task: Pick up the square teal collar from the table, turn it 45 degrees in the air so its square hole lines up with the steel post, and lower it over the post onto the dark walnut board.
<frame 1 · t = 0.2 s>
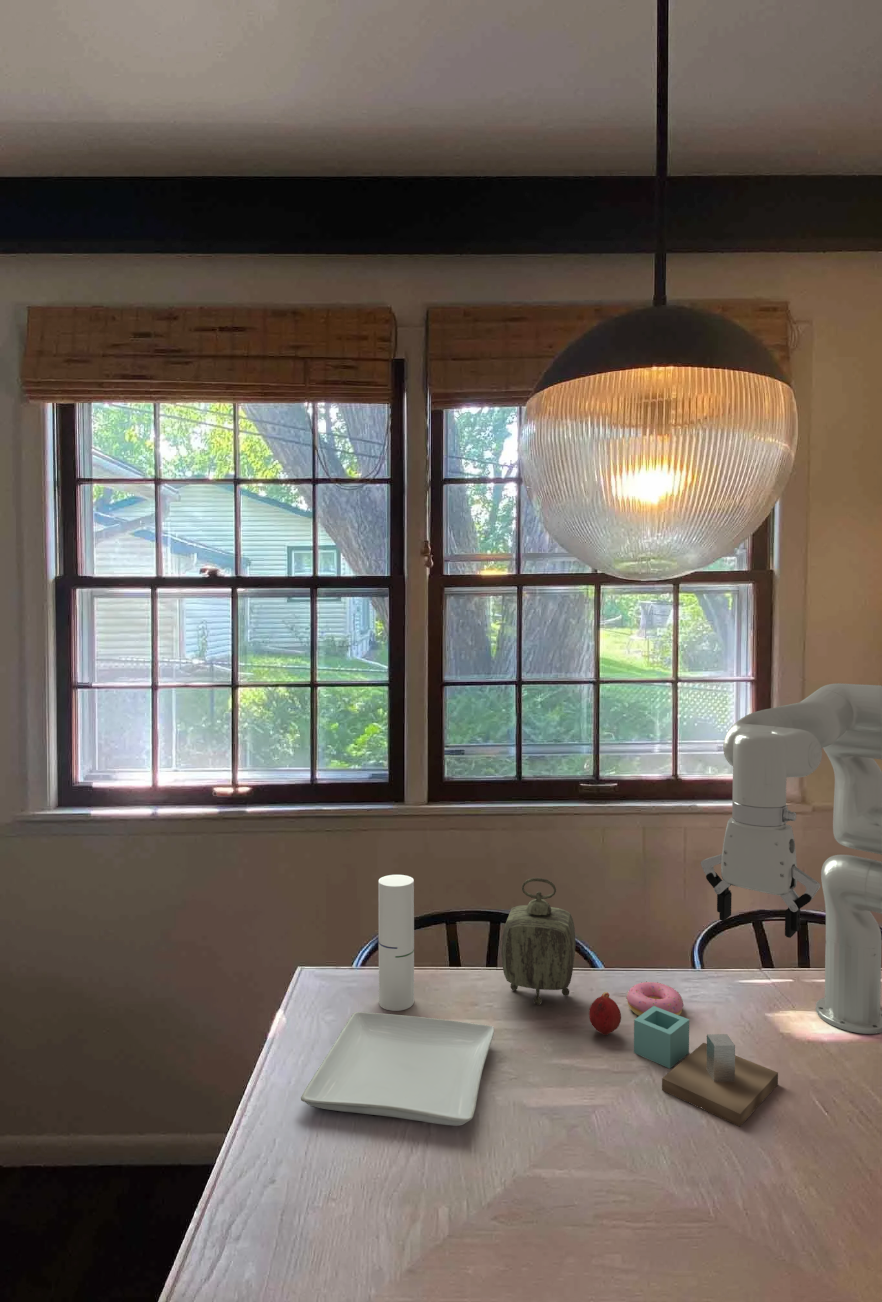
hand: (757, 926, 115), 31 cm above the table, tool pointing down, fingers open, 9 cm apart
post board: (720, 1087, 125), on the table
tabletop clock: (538, 1000, 155), on the table
square plate: (405, 1080, 129), on the table
collar: (661, 1052, 136), on the table
doughnut: (654, 1011, 151), on the table
cylindrical container: (396, 1003, 154), on the table
onion: (604, 1036, 142), on the table
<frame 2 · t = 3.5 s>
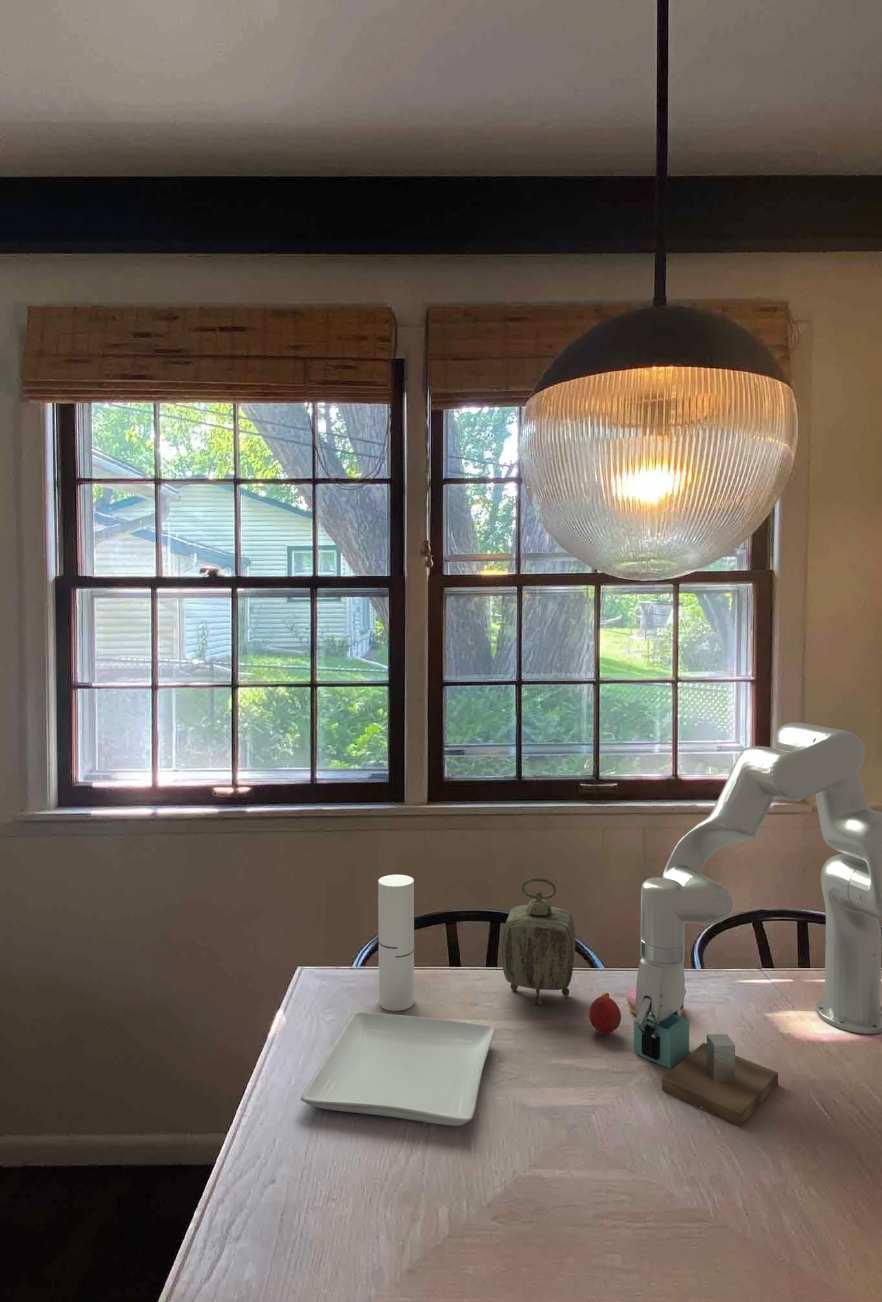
hand: (661, 1047, 136), 1 cm above the table, tool pointing down, fingers closed on collar, 7 cm apart
collar: (661, 1052, 136), on the table, touching gripper
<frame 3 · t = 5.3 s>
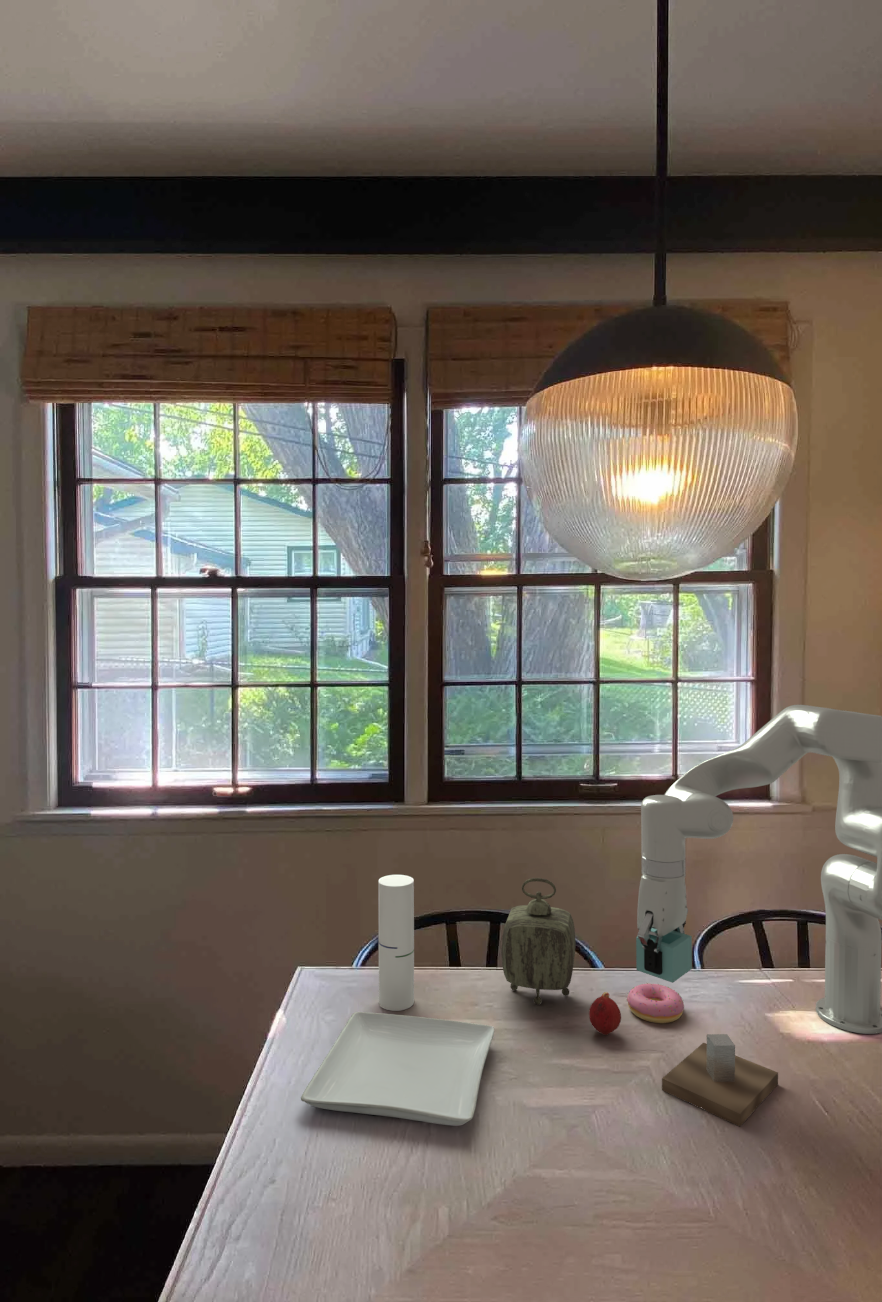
hand: (664, 964, 135), 16 cm above the table, tool pointing down, fingers closed on collar, 7 cm apart
collar: (664, 969, 135), point 15 cm above the table, touching gripper
everything else where it was.
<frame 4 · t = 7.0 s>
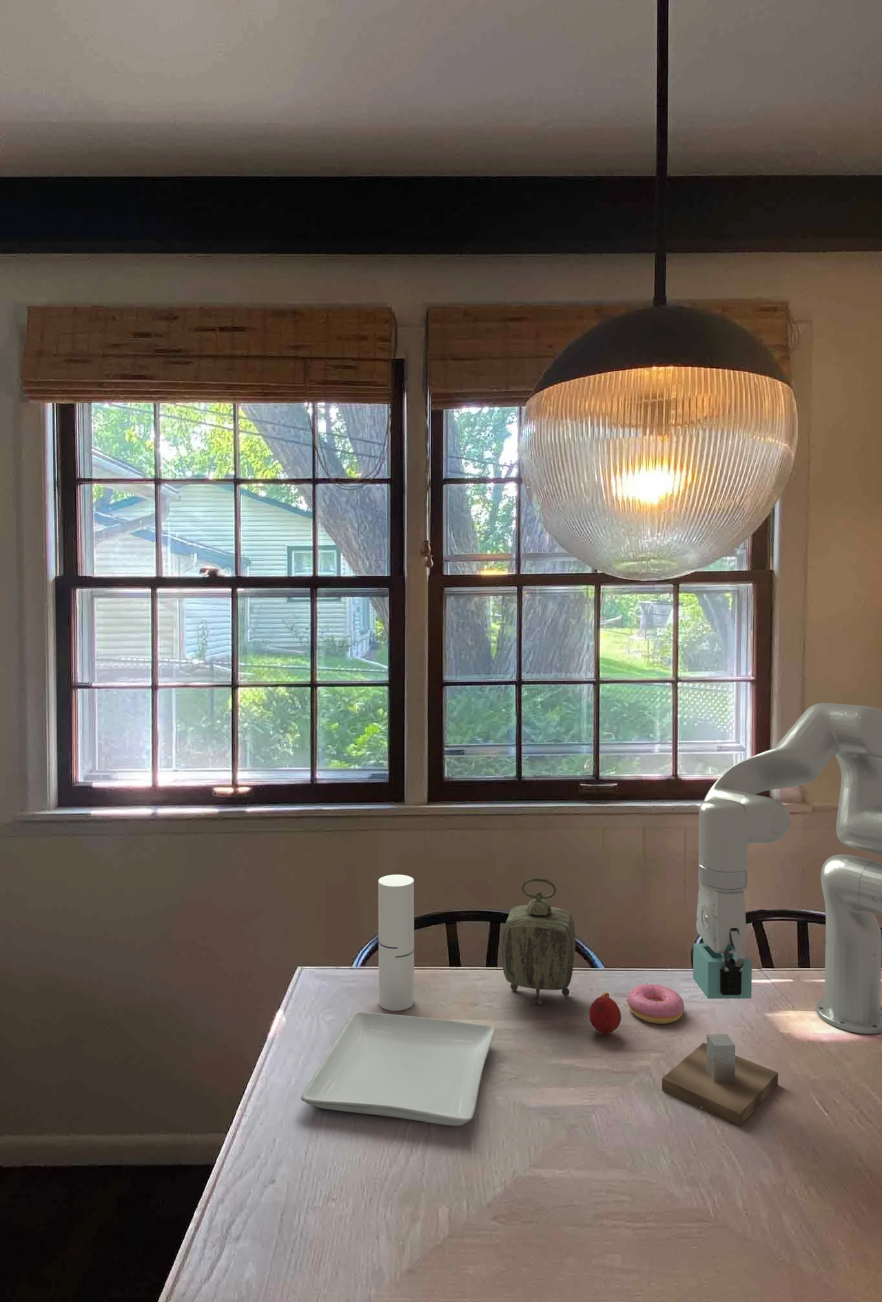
hand: (721, 982, 125), 18 cm above the table, tool pointing down, fingers closed on collar, 7 cm apart
collar: (721, 988, 125), point 17 cm above the table, touching gripper
everything else where it was.
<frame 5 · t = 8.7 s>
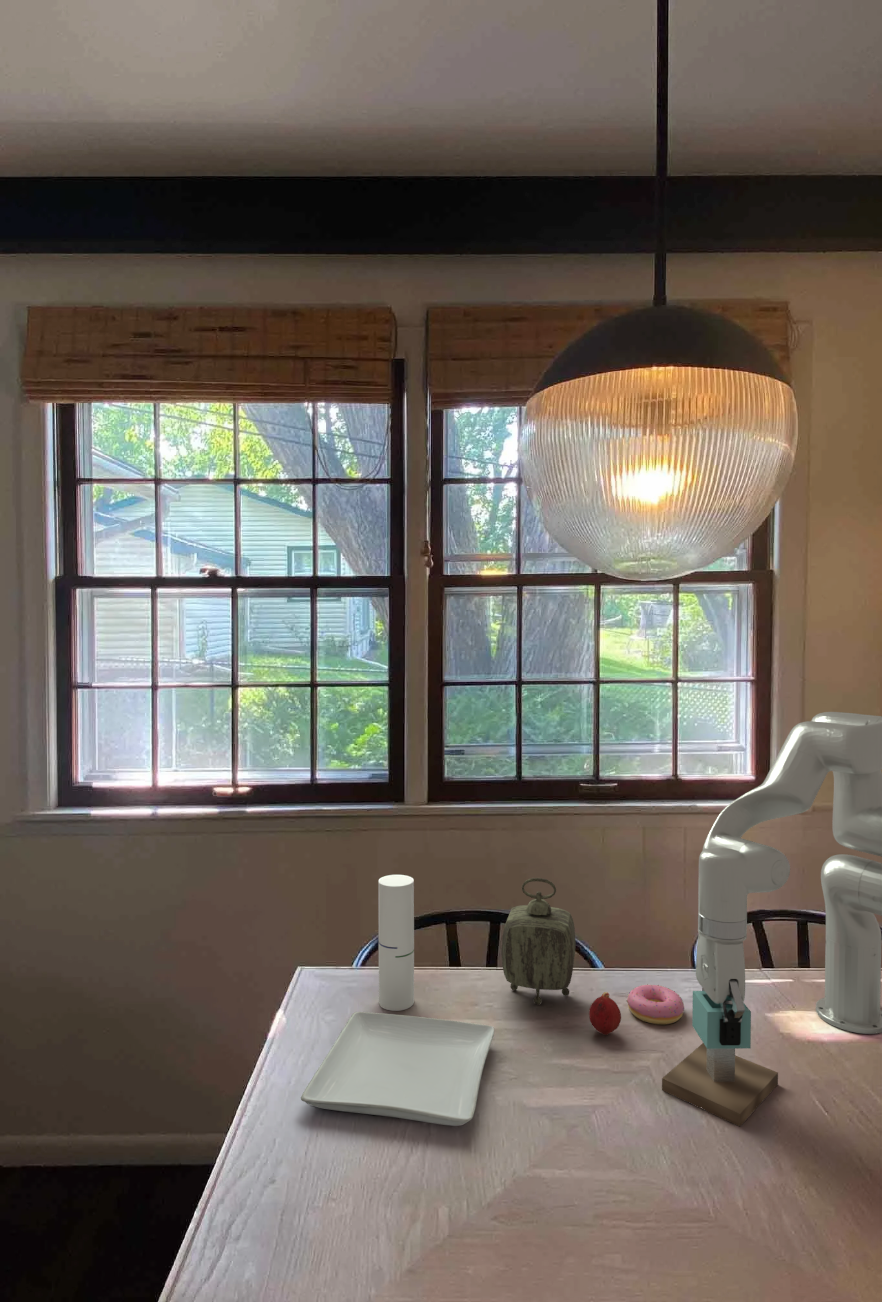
hand: (720, 1030, 125), 10 cm above the table, tool pointing down, fingers closed on collar, 7 cm apart
collar: (720, 1036, 125), point 9 cm above the table, touching gripper
when the fingers open (4 cm above the table, at t = 10.4 s): collar stays where it is, resting on post board.
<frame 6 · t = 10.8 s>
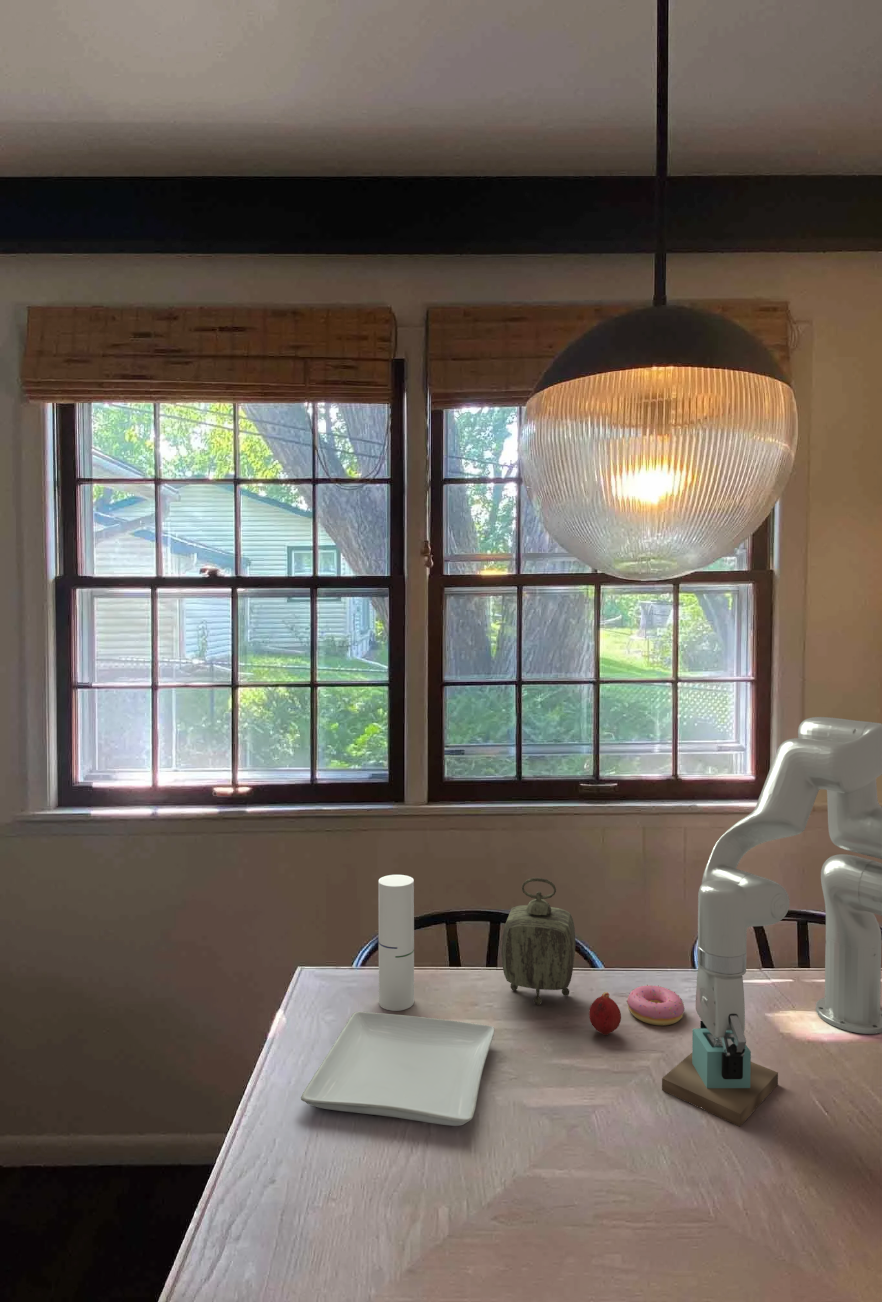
hand: (720, 1060, 125), 5 cm above the table, tool pointing down, fingers open, 9 cm apart
collar: (720, 1075, 125), point 2 cm above the table, touching post board
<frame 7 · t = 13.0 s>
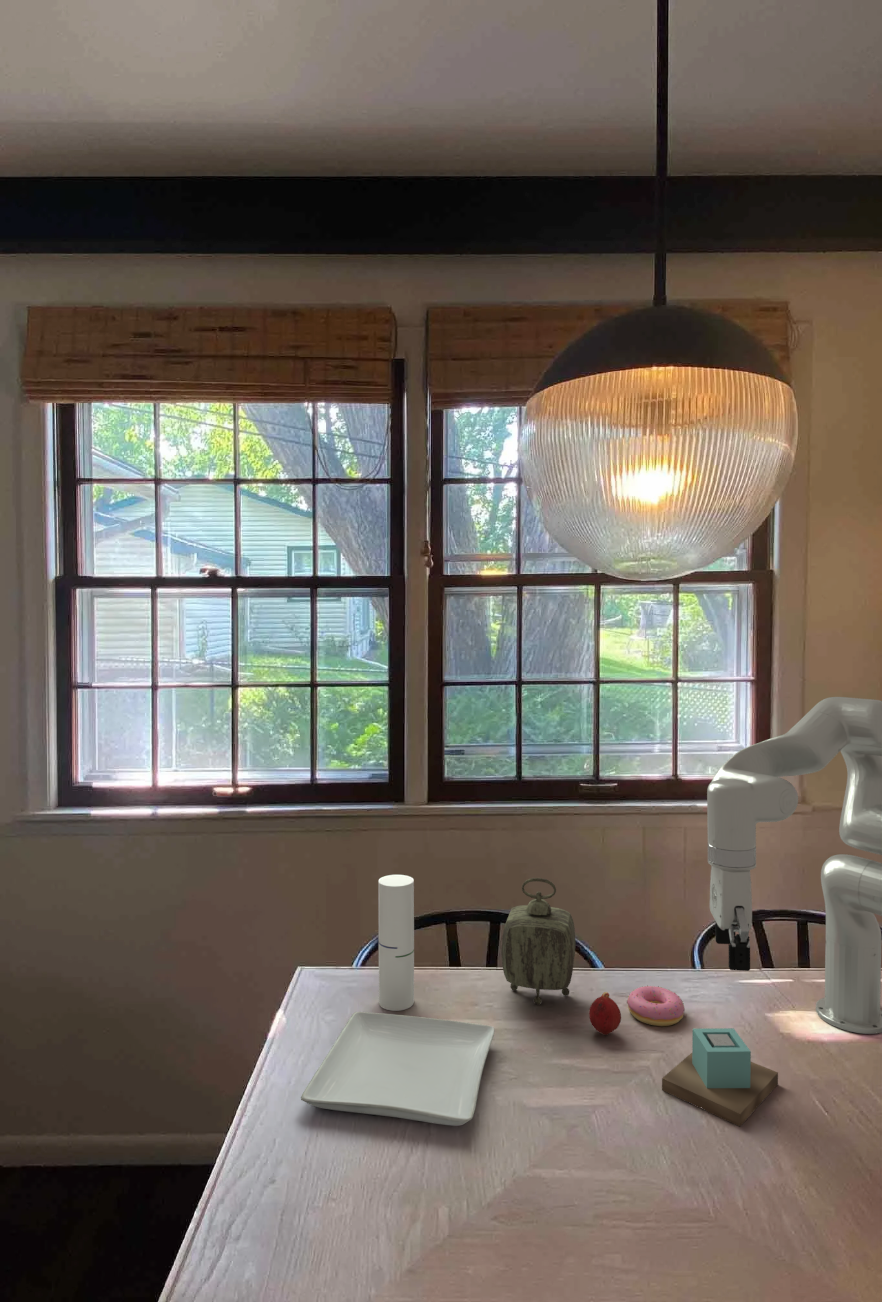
hand: (732, 956, 126), 21 cm above the table, tool pointing down, fingers open, 9 cm apart
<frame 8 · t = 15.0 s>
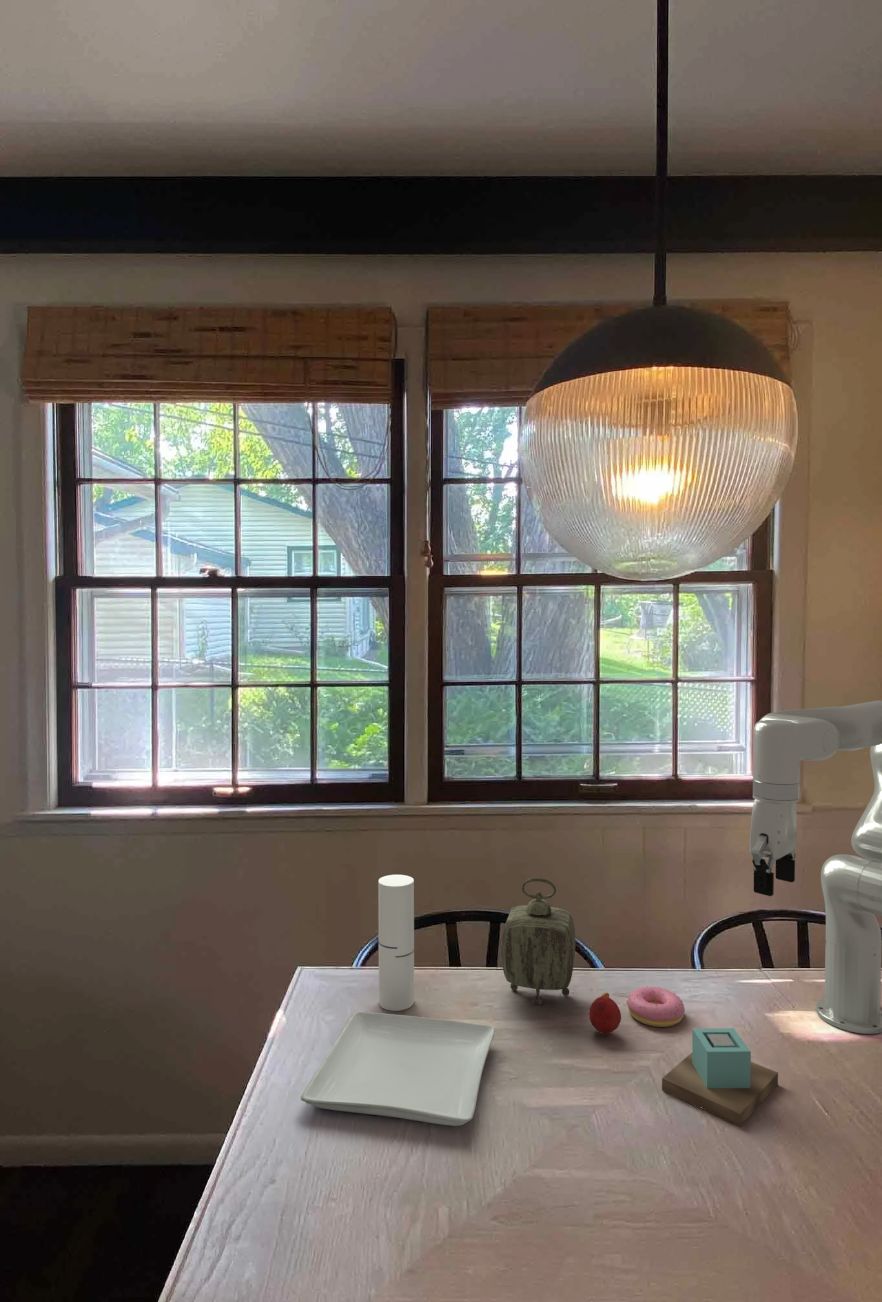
hand: (774, 887, 134), 30 cm above the table, tool pointing down, fingers open, 9 cm apart
at the end: collar 0.0 cm off-centre on the post board, point 2.0 cm above the post board's base; collar tilted 0°; the gripper is holding nothing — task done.
